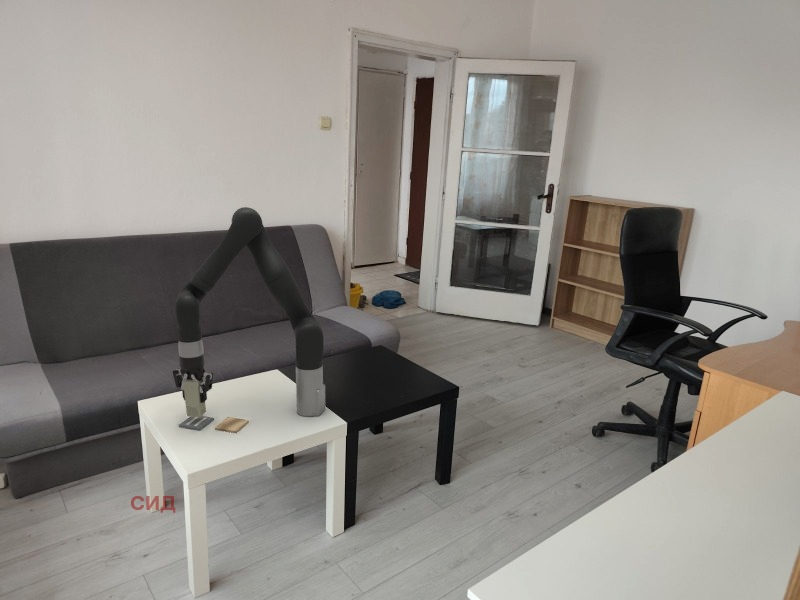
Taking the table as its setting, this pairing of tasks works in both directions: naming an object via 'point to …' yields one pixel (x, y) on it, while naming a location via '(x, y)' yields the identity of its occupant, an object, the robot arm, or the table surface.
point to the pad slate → (196, 422)
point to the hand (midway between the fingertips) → (194, 400)
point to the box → (193, 399)
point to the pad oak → (231, 425)
